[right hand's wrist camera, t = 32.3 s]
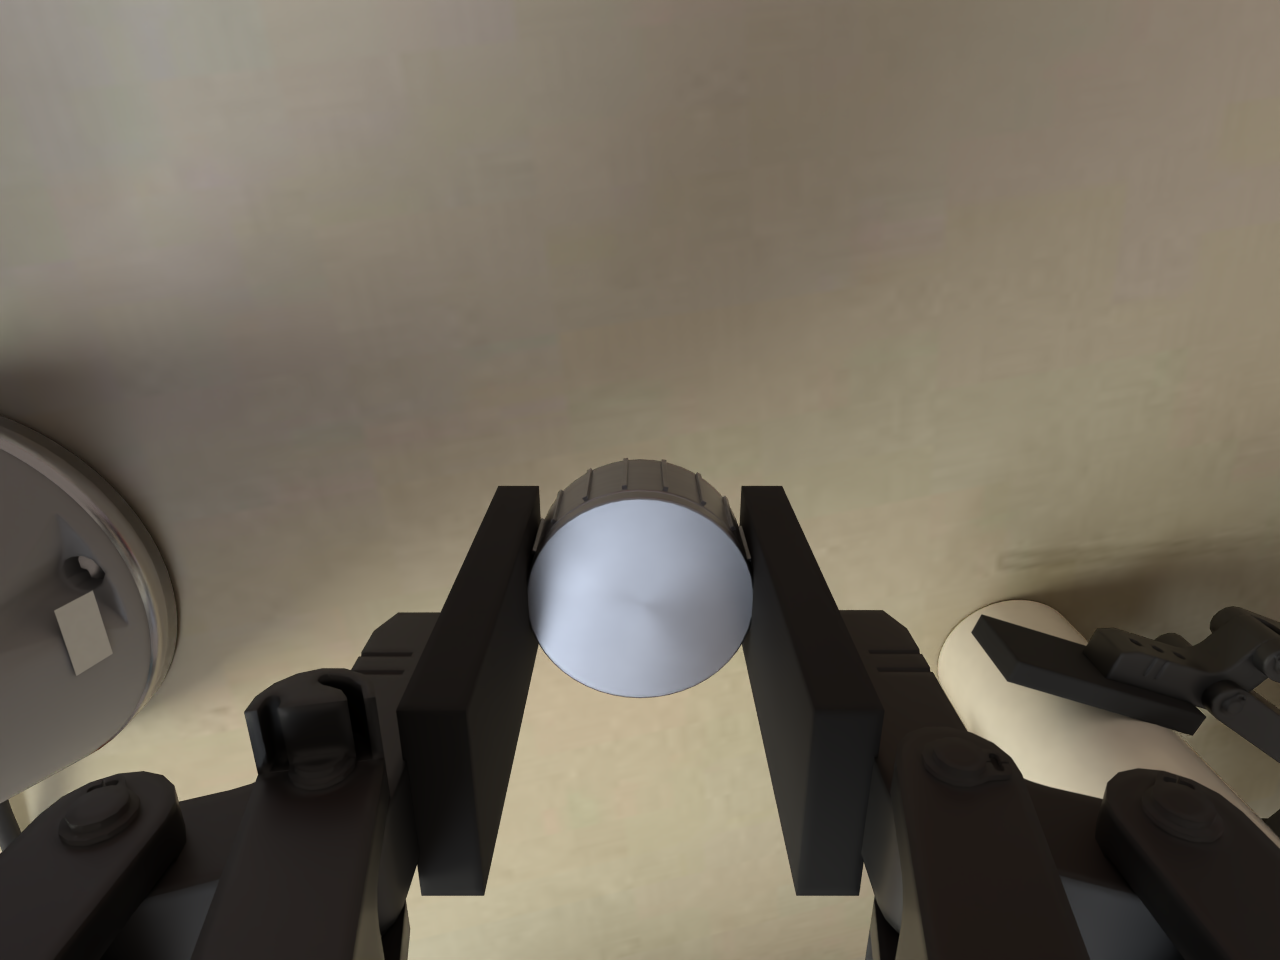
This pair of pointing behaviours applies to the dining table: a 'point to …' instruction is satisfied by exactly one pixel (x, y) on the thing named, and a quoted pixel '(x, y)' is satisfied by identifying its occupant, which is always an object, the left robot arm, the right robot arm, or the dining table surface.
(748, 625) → the cap
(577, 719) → the dining table surface
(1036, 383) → the dining table surface
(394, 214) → the dining table surface
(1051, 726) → the bottle
